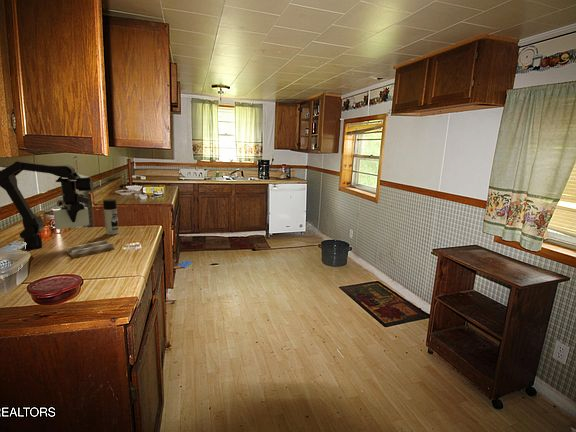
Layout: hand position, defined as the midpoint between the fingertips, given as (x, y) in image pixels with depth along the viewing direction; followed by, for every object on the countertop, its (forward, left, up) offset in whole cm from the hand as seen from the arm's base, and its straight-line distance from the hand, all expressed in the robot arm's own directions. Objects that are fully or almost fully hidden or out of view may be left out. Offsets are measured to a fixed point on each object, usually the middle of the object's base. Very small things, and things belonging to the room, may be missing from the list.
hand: (72, 221), depth 159 cm
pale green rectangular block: (0, 0, -3) cm, 3 cm away
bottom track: (+2, -15, -13) cm, 20 cm away
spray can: (+23, +10, -13) cm, 28 cm away
